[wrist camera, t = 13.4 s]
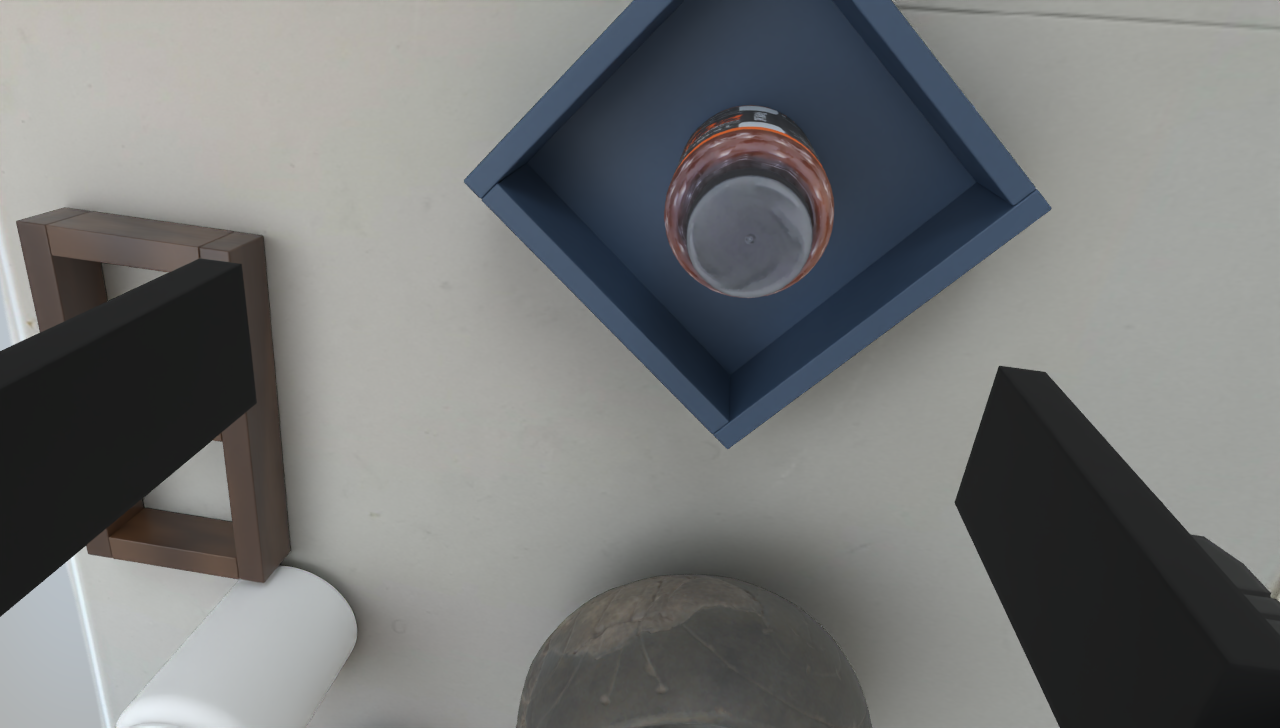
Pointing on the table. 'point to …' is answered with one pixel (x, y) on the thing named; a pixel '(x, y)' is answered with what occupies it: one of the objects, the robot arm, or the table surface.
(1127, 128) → the table surface
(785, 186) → the supplement bottle
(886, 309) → the blue square tray
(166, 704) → the beverage can
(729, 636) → the bowl
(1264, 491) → the table surface
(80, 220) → the rack
